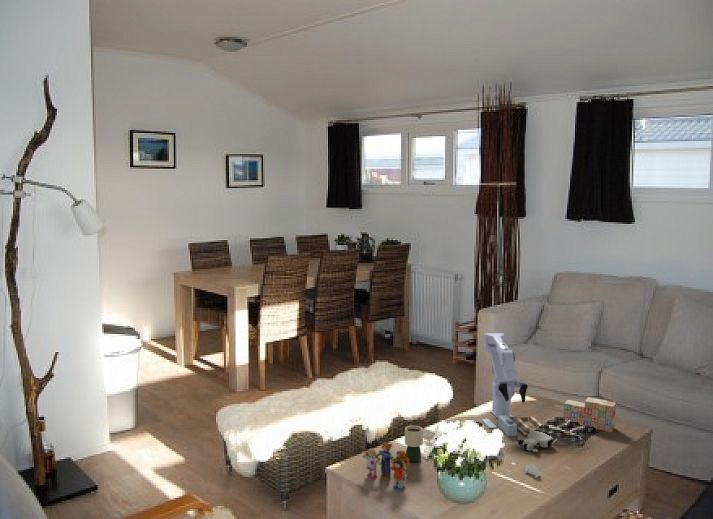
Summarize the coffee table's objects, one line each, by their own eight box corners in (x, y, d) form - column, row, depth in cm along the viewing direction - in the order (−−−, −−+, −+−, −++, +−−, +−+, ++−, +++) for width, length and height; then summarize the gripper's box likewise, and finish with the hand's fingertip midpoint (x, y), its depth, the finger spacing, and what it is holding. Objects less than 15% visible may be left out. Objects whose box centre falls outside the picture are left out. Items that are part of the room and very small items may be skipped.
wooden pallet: (509, 422, 292) (510, 416, 292) (534, 420, 294) (534, 414, 294) (524, 436, 277) (524, 429, 276) (549, 434, 279) (550, 428, 278)
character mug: (428, 462, 250) (429, 431, 248) (414, 467, 246) (415, 435, 244) (411, 452, 259) (412, 422, 257) (397, 456, 255) (398, 426, 253)
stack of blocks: (563, 422, 293) (564, 396, 292) (566, 418, 299) (567, 393, 297) (611, 432, 282) (613, 406, 280) (614, 428, 287) (616, 402, 286)
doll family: (360, 474, 240) (361, 441, 238) (377, 466, 247) (378, 433, 245) (403, 493, 225) (404, 458, 224) (420, 484, 232) (421, 450, 231)
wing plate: (481, 421, 294) (481, 419, 294) (488, 421, 295) (488, 418, 295) (489, 429, 285) (489, 427, 285) (496, 429, 285) (496, 426, 285)
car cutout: (545, 476, 241) (545, 464, 240) (535, 481, 237) (536, 470, 236) (512, 462, 252) (512, 451, 252) (502, 467, 248) (502, 456, 247)
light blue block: (497, 426, 289) (498, 413, 288) (506, 425, 289) (506, 413, 288) (508, 436, 277) (508, 423, 276) (516, 436, 277) (517, 423, 277)
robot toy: (536, 458, 257) (558, 446, 266) (536, 448, 256) (558, 436, 265) (512, 448, 266) (534, 437, 275) (512, 438, 266) (534, 427, 275)
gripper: (497, 368, 284) (502, 395, 275) (528, 370, 286) (534, 397, 277) (492, 376, 289) (497, 403, 280) (523, 378, 291) (528, 405, 282)
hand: (515, 400), depth 279 cm, fingers open, 7 cm apart
